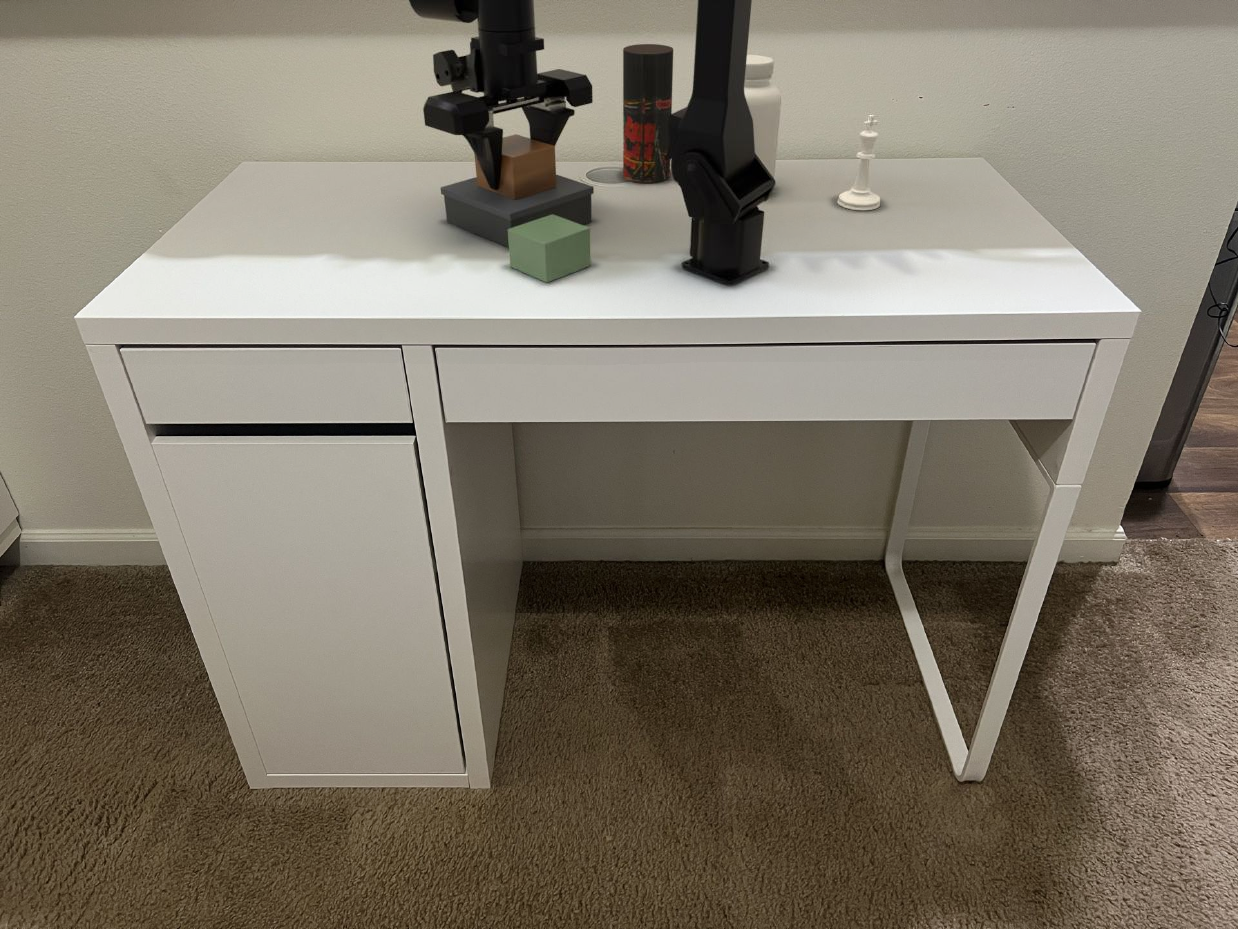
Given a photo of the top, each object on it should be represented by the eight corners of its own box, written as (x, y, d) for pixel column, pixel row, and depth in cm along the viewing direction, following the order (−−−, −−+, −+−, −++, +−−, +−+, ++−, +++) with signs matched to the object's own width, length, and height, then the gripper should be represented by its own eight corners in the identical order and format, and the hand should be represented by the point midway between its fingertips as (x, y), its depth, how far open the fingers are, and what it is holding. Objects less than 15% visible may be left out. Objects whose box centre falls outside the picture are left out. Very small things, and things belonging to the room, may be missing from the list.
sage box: (591, 265, 93) (590, 227, 91) (546, 283, 90) (544, 243, 88) (554, 251, 97) (552, 213, 94) (510, 267, 93) (507, 229, 91)
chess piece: (888, 207, 107) (903, 118, 102) (852, 213, 106) (865, 123, 100) (864, 194, 111) (877, 108, 105) (829, 199, 110) (840, 112, 104)
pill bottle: (771, 180, 115) (783, 52, 107) (774, 202, 109) (787, 67, 100) (708, 178, 116) (715, 50, 107) (707, 200, 110) (714, 65, 101)
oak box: (556, 187, 101) (555, 145, 99) (514, 200, 98) (512, 157, 95) (518, 174, 105) (516, 133, 102) (477, 186, 102) (473, 145, 99)
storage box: (594, 221, 104) (593, 186, 101) (512, 250, 97) (509, 213, 94) (525, 196, 111) (523, 163, 108) (444, 222, 104) (440, 187, 101)
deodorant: (617, 171, 119) (616, 45, 110) (660, 166, 120) (663, 42, 112) (631, 185, 114) (632, 55, 105) (676, 180, 116) (680, 52, 107)
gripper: (525, 7, 102) (533, 149, 111) (382, 29, 91) (403, 185, 100) (594, 19, 96) (597, 169, 105) (449, 44, 85) (466, 209, 94)
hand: (516, 182), depth 101 cm, fingers closed on oak box, 6 cm apart
